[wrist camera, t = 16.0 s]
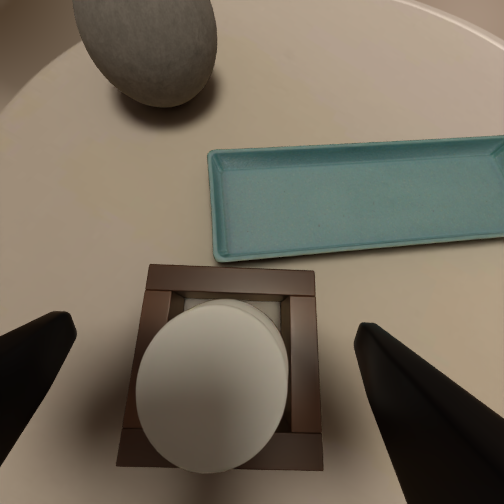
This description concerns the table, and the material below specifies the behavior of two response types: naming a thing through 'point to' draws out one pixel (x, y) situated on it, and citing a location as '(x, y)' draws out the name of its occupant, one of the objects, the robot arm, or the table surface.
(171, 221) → the table surface
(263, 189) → the rectangular tray
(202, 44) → the decorative ball
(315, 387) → the holder
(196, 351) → the white rounded container
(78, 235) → the table surface
